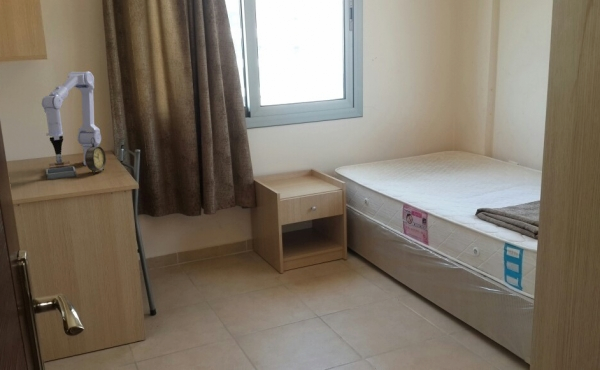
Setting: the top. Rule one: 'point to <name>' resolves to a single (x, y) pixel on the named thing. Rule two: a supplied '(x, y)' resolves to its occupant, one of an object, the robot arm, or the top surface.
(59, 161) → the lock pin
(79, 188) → the top surface
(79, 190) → the top surface
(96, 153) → the alarm clock
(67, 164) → the block
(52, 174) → the tray
